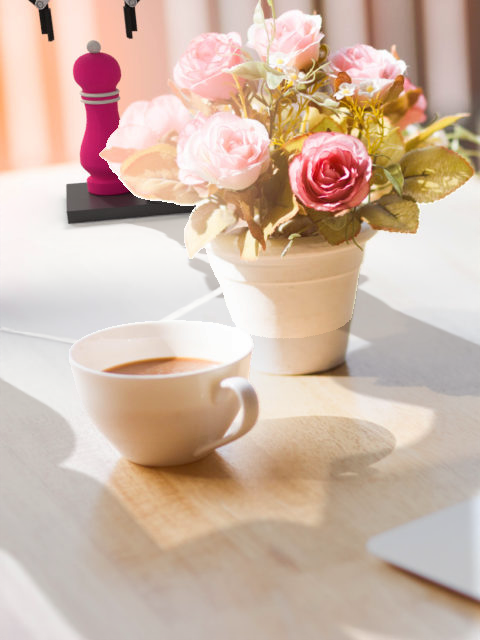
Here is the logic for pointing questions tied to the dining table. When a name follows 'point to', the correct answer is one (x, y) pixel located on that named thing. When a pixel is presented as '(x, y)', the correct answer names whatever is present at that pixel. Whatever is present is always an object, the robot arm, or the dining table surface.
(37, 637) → the dining table surface
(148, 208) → the scale
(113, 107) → the pepper mill
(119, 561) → the dining table surface
